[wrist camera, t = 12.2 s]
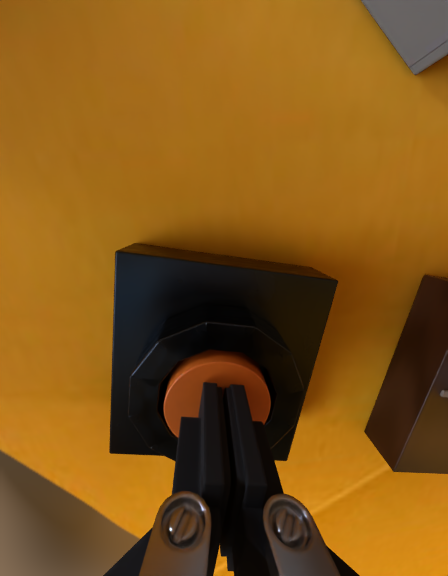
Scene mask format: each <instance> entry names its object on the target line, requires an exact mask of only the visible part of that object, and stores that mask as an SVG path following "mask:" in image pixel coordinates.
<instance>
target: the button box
mask: <svg viewBox="0 0 448 576" xmlns="http://www.w3.org/2000/svg"><path fill="white" fill-rule="evenodd" d="M337 284H338V281H337V280H336V279H334V278H332V277H330V276H328V275H326V274H324V273H322V272H320V271H318V270H316V269H314V268H312V267H305V266H298V265H291V264H283V263H276V262H269V261H262V260H255V259H247V258H240V257H233V256H226V255H218V254H211V253H204V252H197V251H189V250H182V249H175V248H168V247H160V246H153V245H146V244H139V243H134V244H132V245H129V246H127V247H124V248H122V249H120V250H117V251H116V252H115V284H114V317H113V350H112V384H111V417H110V451H109V452H110V453H111V454H135V455H159V456H166V457H168V458H170V459H172V460H174V461H176V454H177V446H178V437H177V436H176V435H175V434H174V433H173V432H172V431H171V429H170V428H169V426H168V424H167V422H166V419H165V416H164V400H165V395H166V390H167V386H168V381H169V376H170V372H171V370H172V369H173V368H174V367H175V366H176V364H177V363H178V362H179V361H182V360H184V359H187V358H189V357H192V356H195V355H197V354H200V353H202V352H205V351H207V350H219V351H229V352H240V353H244V354H245V355H247V356H248V357H250V358H251V359H252V360H254V361H255V362H257V363H258V364H259V366H260V368H261V371H262V374H263V377H264V379H265V382H266V385H267V388H268V391H269V394H270V400H271V405H270V412H269V415H268V418H267V420H266V422H265V424H264V427H265V430H266V434H267V437H268V441H269V444H270V448H271V451H272V455H273V458H274V460H277V461H287V459H288V455H289V452H290V448H291V445H292V441H293V438H294V434H295V431H296V427H297V424H298V420H299V417H300V413H301V410H302V406H303V403H304V399H305V396H306V392H307V389H308V385H309V382H310V378H311V375H312V371H313V368H314V364H315V361H316V357H317V354H318V350H319V347H320V343H321V340H322V336H323V333H324V329H325V326H326V322H327V319H328V315H329V312H330V308H331V305H332V301H333V298H334V294H335V291H336V287H337Z"/></svg>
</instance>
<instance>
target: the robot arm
mask: <svg viewBox="0 0 448 576" xmlns="http://www.w3.org/2000/svg"><path fill="white" fill-rule="evenodd" d="M219 545H220V552H221V556H227V568H228V571H234V576H359V575H358V574H357V573H356V572H355V571H354V570H353V569H352V568H350V567H349V566H348V565H347V564H346V563H345V562H344V561H343V560H342V559H341V558H339V557H338V556H337V555H336V554H335V553H334V552H333V551H332V550H331V549H329V548H328V547H327V546H326V544H325V542H324V540H323V538H322V536H321V534H320V532H319V530H318V528H317V526H316V524H315V521H314V519H313V517H312V516H311V514H310V513H309V511H308V509H307V508H306V507H305V506H304V505H303V504H302V503H301V502H300V501H299V500H297V499H296V498H294V497H292V496H290V495H287V494H284V493H283V489H282V486H281V483H280V479H279V476H278V472H277V469H276V465H275V462H274V458H273V455H272V451H271V448H270V444H269V441H268V437H267V434H266V430H265V427H264V424H263V422H262V421H252V416H251V412H250V408H249V404H248V399H247V395H246V391H245V387H244V385H235V384H230V387H229V388H225V390H224V396H223V394H222V387H217V383H209V382H203V388H202V395H201V401H200V408H199V415H198V417H182V416H181V421H180V429H179V437H178V446H177V454H176V463H175V472H174V480H173V489H172V495H171V496H170V497H168V498H167V499H166V500H165V501H164V502H163V504H162V505H161V506H160V508H159V511H158V513H157V515H156V519H155V522H154V525H153V527H152V528H151V529H150V530H149V531H148V532H147V533H146V534H145V535H144V536H143V537H142V538H141V539H140V540H139V541H138V542H137V543H136V544H135V545H134V546H133V547H132V548H131V549H130V550H129V551H128V552H127V553H126V554H125V555H124V556H123V557H122V558H121V559H120V560H119V561H118V562H117V563H116V564H115V565H114V566H113V567H112V568H111V569H110V570H109V571H108V572H107V573H106V574H105V575H103V576H213V573H214V569H215V564H216V559H217V555H218V550H219Z"/></svg>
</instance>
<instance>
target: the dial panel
mask: <svg viewBox="0 0 448 576" xmlns="http://www.w3.org/2000/svg"><path fill="white" fill-rule="evenodd" d="M364 432H365V433H366V435H367V436H368V438H369V439H370V440H371V442H372V443H373V444H374V446H375V447H376V448H377V450H378V451H379V453H380V454H381V455H382V457H383V458H384V459H385V461H386V462H387V463H388V465H389V466H390V467H391V469H392V470H393V471H394V472H413V473H438V474H448V278H445V277H438V276H431V275H424V277H423V279H422V282H421V284H420V287H419V290H418V292H417V295H416V297H415V300H414V303H413V305H412V308H411V311H410V313H409V316H408V318H407V321H406V324H405V326H404V329H403V332H402V334H401V337H400V339H399V342H398V345H397V347H396V350H395V353H394V355H393V358H392V360H391V363H390V366H389V368H388V371H387V374H386V376H385V379H384V381H383V384H382V387H381V389H380V392H379V394H378V397H377V400H376V402H375V405H374V408H373V410H372V413H371V415H370V418H369V421H368V423H367V426H366V429H365V431H364Z"/></svg>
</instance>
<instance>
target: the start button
mask: <svg viewBox="0 0 448 576" xmlns="http://www.w3.org/2000/svg"><path fill="white" fill-rule="evenodd" d="M203 382H209V383H217V387H222V394H223V396H224V390H225V388H229V387H230V384H235V385H244V387H245V391H246V395H247V399H248V404H249V408H250V412H251V416H252V421H262V422H263V424H265V422H266V420H267V418H268V415H269V412H270V405H271V400H270V394H269V391H268V388H267V385H266V382H265V379H264V377H263V374H262V371H261V368H260V366H259V364H258V363H257V362H255V361H254V360H252V359H251V358H250V357H248V356H247V355H245V354H244V353H240V352H229V351H219V350H207V351H205V352H202V353H200V354H197V355H195V356H192V357H189V358H187V359H184V360H182V361H179V362H178V363H177V364H176V366H175V367H174V368H173V369H172V370H171V372H170V376H169V381H168V386H167V390H166V395H165V400H164V416H165V419H166V422H167V424H168V426H169V428H170V429H171V431H172V432H173V433H174V434H175V435H176V436H177V437H179V429H180V421H181V416H182V417H198V415H199V408H200V401H201V395H202V388H203Z"/></svg>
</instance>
